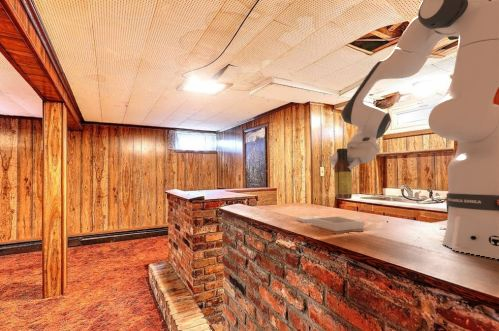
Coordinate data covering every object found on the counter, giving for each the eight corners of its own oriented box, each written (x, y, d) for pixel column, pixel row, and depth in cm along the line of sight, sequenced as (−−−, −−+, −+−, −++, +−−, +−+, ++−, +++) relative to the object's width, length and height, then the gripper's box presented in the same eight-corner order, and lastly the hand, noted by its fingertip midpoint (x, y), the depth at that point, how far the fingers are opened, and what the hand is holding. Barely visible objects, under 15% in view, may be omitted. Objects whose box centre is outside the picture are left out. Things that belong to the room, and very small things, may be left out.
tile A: (327, 220, 99) (327, 217, 99) (318, 221, 97) (318, 218, 97) (318, 218, 104) (318, 215, 104) (309, 219, 101) (309, 216, 101)
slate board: (331, 224, 98) (331, 221, 98) (306, 226, 93) (306, 223, 93) (314, 220, 107) (314, 217, 107) (290, 222, 102) (290, 219, 102)
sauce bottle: (355, 199, 98) (355, 148, 99) (345, 199, 95) (345, 147, 96) (340, 197, 104) (341, 149, 105) (331, 198, 100) (331, 148, 101)
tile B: (315, 221, 96) (315, 218, 96) (303, 222, 95) (303, 219, 95) (308, 219, 101) (308, 216, 101) (297, 220, 99) (297, 217, 99)
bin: (363, 231, 85) (363, 221, 85) (335, 234, 79) (335, 223, 79) (337, 225, 95) (337, 216, 95) (311, 228, 90) (311, 218, 90)
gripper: (336, 144, 113) (319, 165, 108) (376, 137, 95) (358, 161, 90) (343, 154, 115) (327, 175, 110) (384, 149, 96) (367, 174, 92)
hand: (341, 169), depth 100 cm, fingers closed on sauce bottle, 6 cm apart
